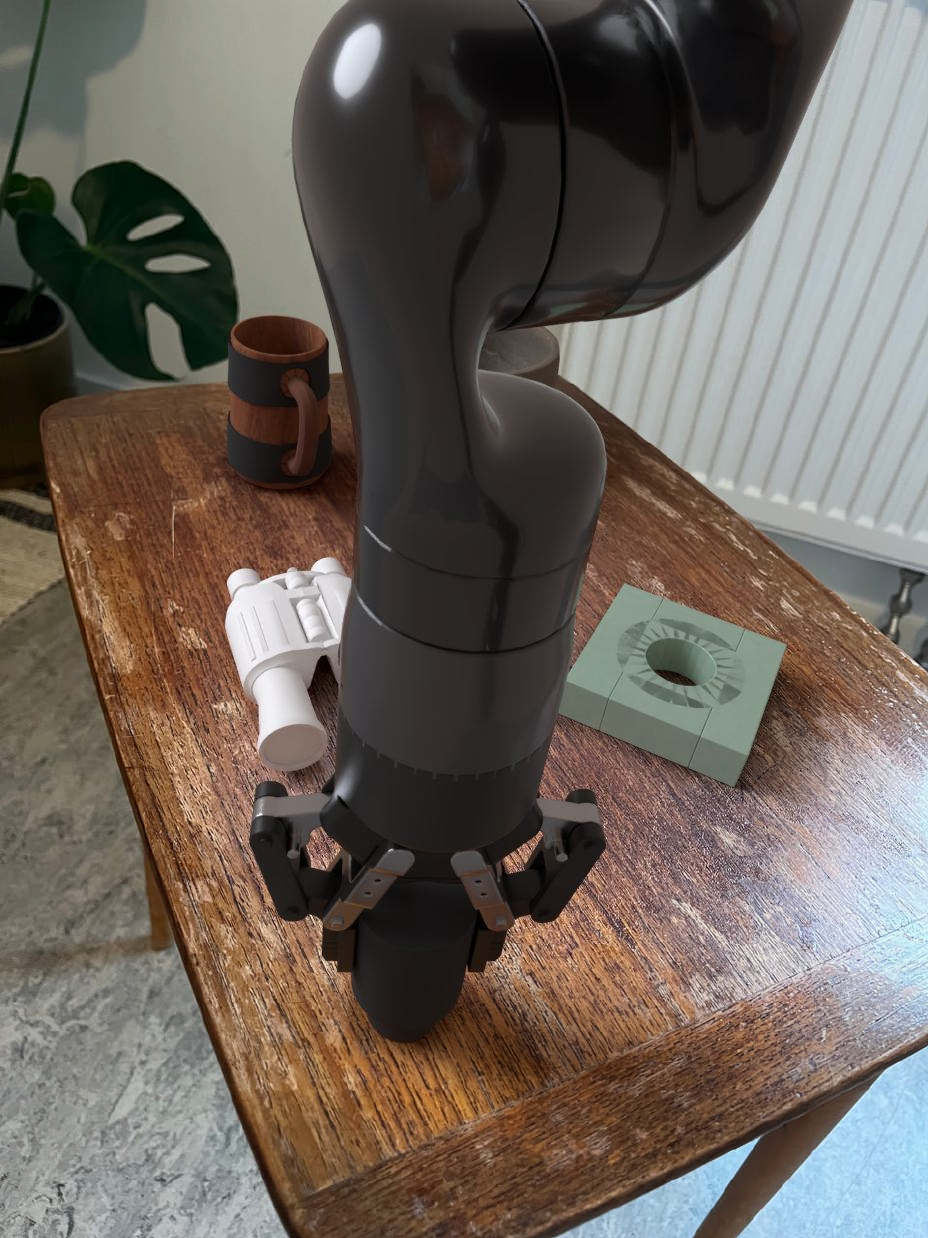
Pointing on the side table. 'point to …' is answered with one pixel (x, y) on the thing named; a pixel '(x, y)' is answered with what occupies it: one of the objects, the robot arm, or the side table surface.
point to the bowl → (522, 354)
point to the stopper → (412, 957)
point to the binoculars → (286, 653)
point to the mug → (278, 402)
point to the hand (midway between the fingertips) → (410, 953)
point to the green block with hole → (666, 712)
